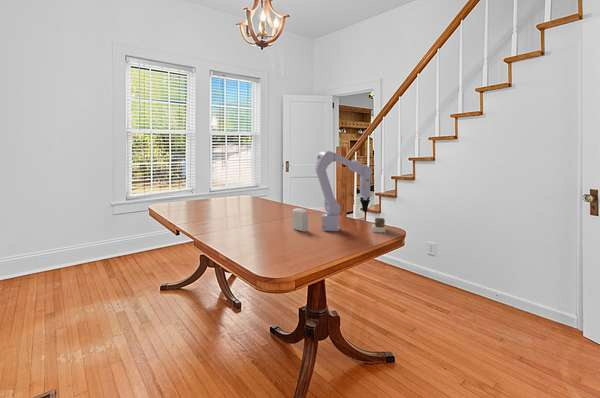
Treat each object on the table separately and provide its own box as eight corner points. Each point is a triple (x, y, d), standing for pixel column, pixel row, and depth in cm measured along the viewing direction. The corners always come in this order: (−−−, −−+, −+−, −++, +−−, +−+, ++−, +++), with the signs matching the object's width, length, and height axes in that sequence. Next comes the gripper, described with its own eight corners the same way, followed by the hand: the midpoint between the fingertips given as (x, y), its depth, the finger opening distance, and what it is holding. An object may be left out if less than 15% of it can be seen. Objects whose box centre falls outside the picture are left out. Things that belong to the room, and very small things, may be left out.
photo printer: (291, 229, 187) (291, 207, 185) (297, 227, 189) (297, 206, 187) (303, 232, 179) (302, 210, 177) (309, 231, 182) (308, 209, 180)
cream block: (371, 232, 177) (372, 227, 176) (372, 229, 183) (372, 224, 183) (385, 233, 175) (385, 227, 175) (384, 230, 182) (385, 224, 181)
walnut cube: (376, 227, 177) (376, 219, 176) (374, 225, 181) (375, 217, 180) (384, 227, 176) (384, 219, 176) (383, 225, 181) (383, 218, 180)
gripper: (372, 188, 178) (372, 213, 180) (371, 185, 192) (371, 208, 194) (359, 188, 179) (359, 212, 181) (359, 185, 193) (359, 208, 195)
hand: (364, 210), depth 188 cm, fingers open, 7 cm apart
